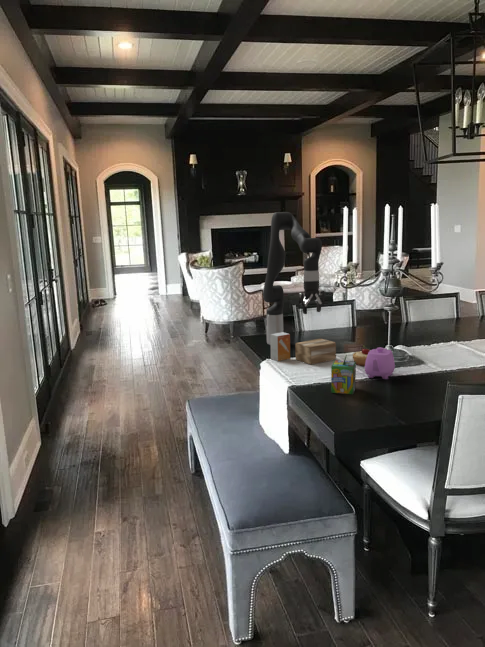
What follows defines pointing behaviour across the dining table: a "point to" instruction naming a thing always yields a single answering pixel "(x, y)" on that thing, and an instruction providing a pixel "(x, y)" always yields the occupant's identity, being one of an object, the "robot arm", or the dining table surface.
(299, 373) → the dining table surface
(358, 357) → the pastry
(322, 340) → the lid
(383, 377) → the teapot
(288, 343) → the small box
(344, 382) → the chalk box
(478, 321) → the dining table surface
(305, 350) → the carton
